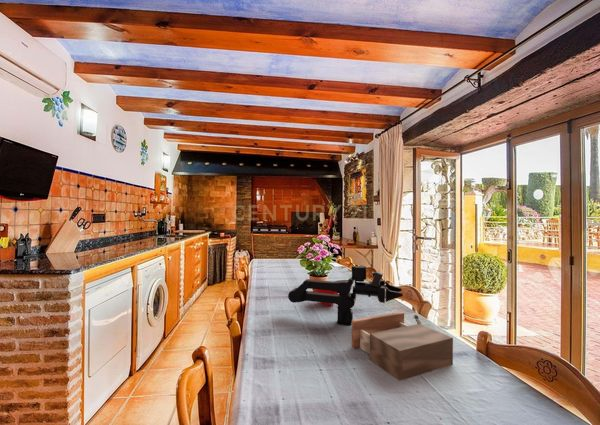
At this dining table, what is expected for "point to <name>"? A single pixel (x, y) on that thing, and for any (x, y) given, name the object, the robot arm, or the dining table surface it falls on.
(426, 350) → the cabinet
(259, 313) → the dining table surface
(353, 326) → the drawer
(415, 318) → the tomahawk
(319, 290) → the ceramic cup
